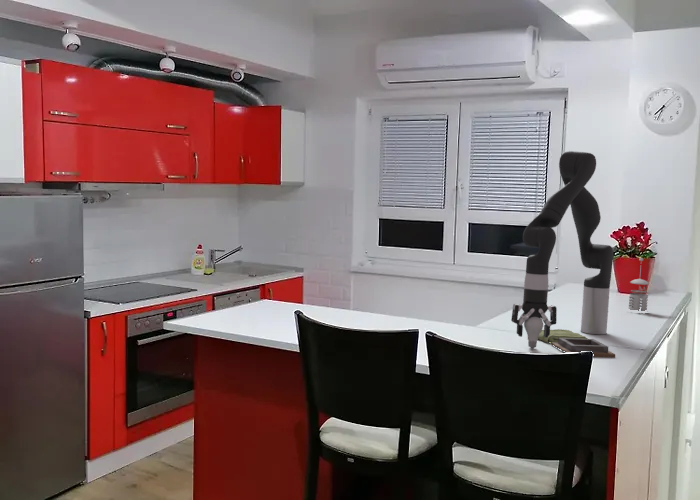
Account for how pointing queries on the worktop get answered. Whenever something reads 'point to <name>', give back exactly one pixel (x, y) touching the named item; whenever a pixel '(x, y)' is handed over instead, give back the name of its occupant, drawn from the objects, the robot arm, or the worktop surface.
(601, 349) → the socket stand
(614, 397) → the worktop surface
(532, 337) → the lightbulb
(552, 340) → the washcloth
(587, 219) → the robot arm
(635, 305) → the french press
